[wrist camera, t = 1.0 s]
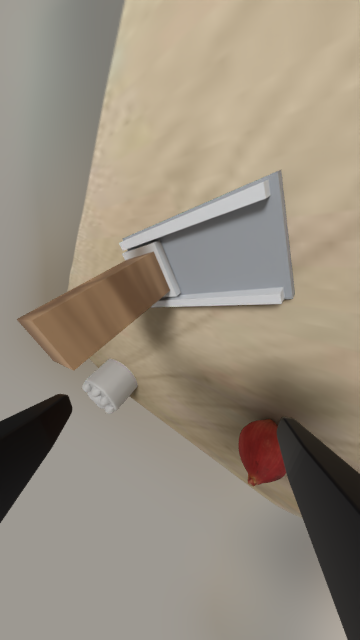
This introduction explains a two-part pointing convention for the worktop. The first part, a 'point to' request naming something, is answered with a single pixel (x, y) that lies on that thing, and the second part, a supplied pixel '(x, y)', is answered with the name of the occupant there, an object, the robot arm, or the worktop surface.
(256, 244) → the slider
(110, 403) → the lumpy-topped squat cylinder
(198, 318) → the worktop surface
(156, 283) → the brown rectangular block
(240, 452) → the onion
